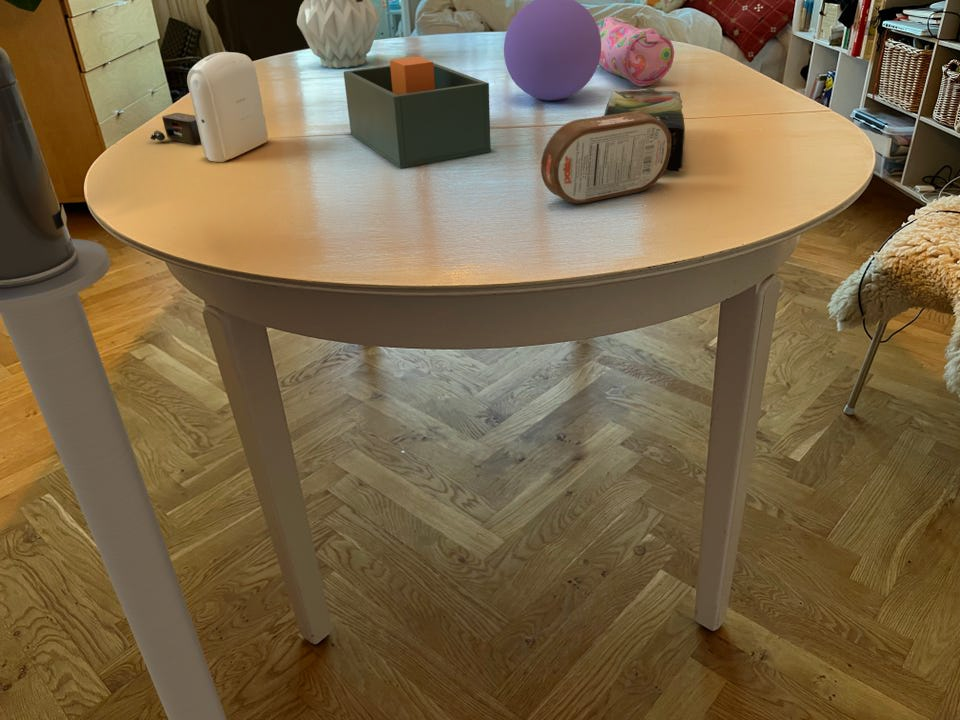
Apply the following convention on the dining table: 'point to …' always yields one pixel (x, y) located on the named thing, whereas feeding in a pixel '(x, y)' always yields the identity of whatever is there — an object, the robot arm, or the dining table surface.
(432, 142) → the trash bin
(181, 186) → the dining table surface
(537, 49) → the decorative ball
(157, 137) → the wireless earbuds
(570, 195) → the tin
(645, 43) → the pencil case
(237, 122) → the photo printer
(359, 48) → the vase
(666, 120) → the juice carton
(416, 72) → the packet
